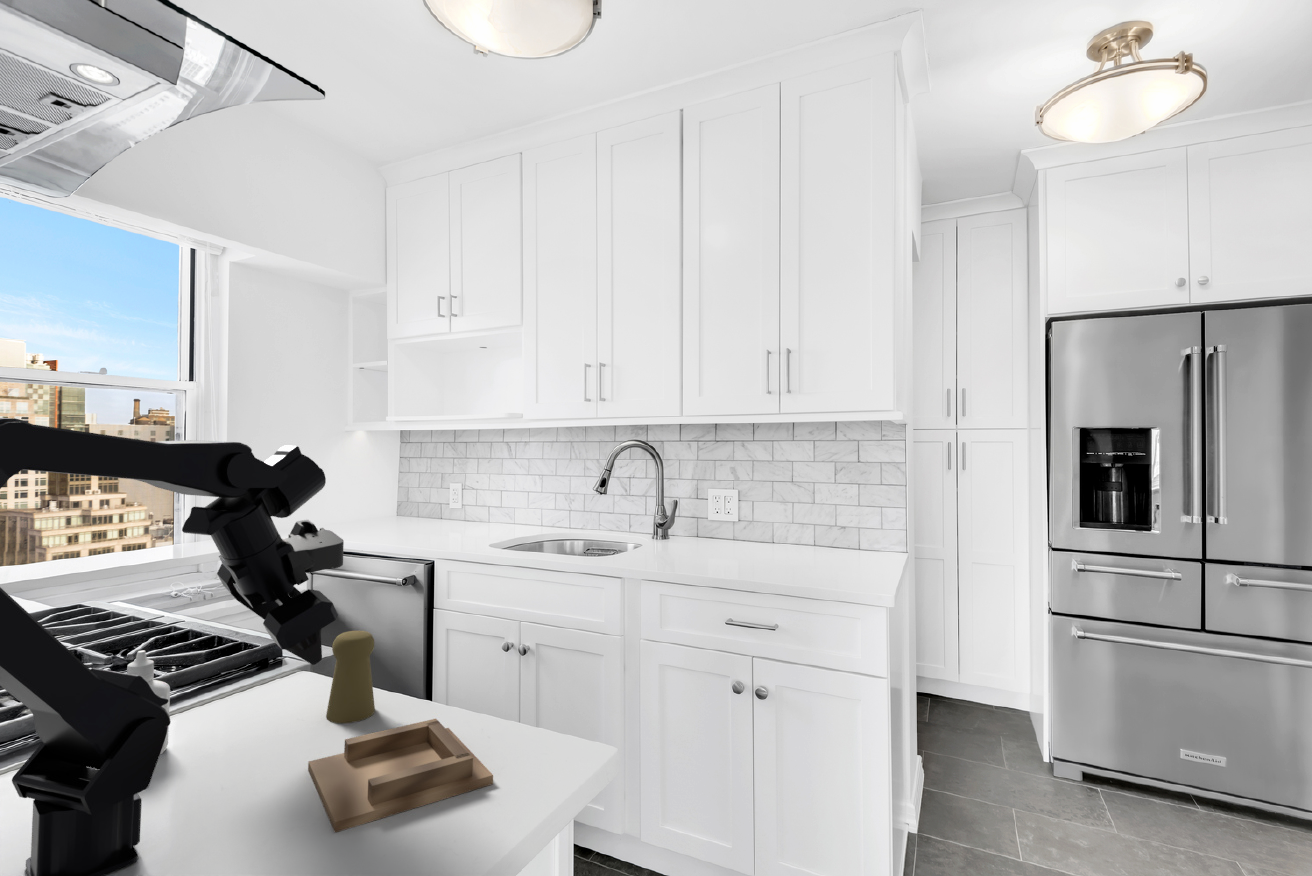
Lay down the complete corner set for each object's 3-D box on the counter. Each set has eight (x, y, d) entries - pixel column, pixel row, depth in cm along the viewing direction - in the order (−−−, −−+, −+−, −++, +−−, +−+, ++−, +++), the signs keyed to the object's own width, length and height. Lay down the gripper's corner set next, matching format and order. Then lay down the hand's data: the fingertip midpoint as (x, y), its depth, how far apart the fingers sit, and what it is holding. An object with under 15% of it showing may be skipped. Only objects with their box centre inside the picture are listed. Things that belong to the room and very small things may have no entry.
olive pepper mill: (356, 725, 85) (359, 641, 85) (315, 720, 86) (319, 636, 86) (384, 707, 91) (387, 628, 91) (346, 702, 92) (349, 624, 92)
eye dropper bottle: (145, 765, 73) (149, 658, 73) (96, 763, 73) (101, 656, 73) (175, 747, 77) (179, 646, 77) (129, 744, 78) (133, 644, 78)
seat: (334, 832, 62) (336, 801, 62) (308, 770, 73) (309, 743, 73) (492, 784, 72) (493, 756, 72) (448, 735, 83) (448, 712, 83)
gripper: (359, 534, 71) (399, 637, 79) (288, 484, 82) (329, 578, 90) (253, 592, 64) (308, 699, 72) (191, 528, 75) (245, 627, 83)
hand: (300, 644), depth 79 cm, fingers open, 9 cm apart
